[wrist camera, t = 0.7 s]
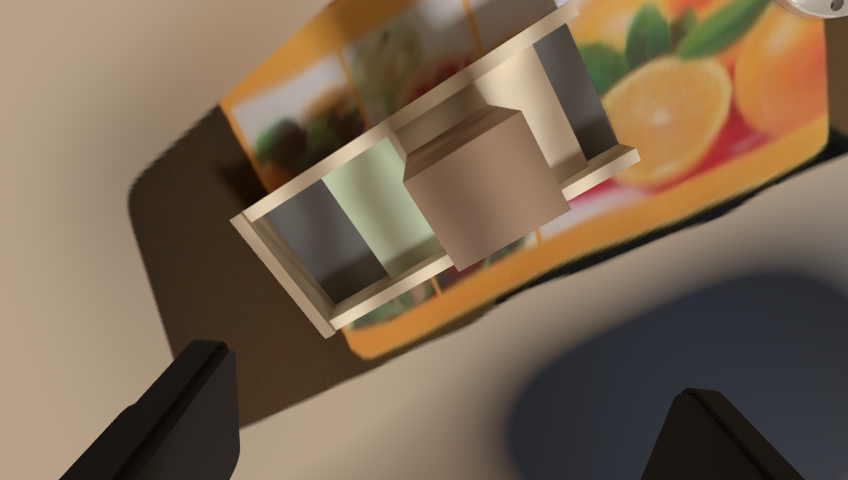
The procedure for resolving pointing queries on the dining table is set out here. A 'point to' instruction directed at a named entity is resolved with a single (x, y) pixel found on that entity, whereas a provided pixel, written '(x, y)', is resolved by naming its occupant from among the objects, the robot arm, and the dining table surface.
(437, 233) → the walnut block
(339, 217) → the channel board
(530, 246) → the dining table surface
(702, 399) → the robot arm
